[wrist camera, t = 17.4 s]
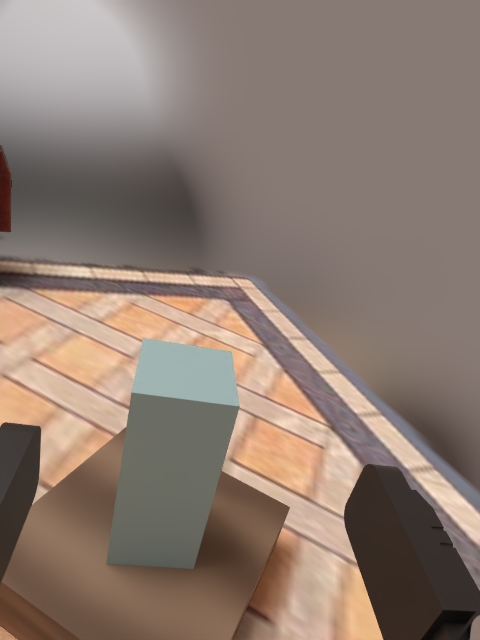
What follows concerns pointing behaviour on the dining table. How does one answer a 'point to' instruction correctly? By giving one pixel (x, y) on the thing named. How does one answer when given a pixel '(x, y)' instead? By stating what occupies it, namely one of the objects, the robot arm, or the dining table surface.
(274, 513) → the plinth
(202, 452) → the block
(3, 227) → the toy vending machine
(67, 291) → the dining table surface
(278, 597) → the dining table surface
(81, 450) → the dining table surface
